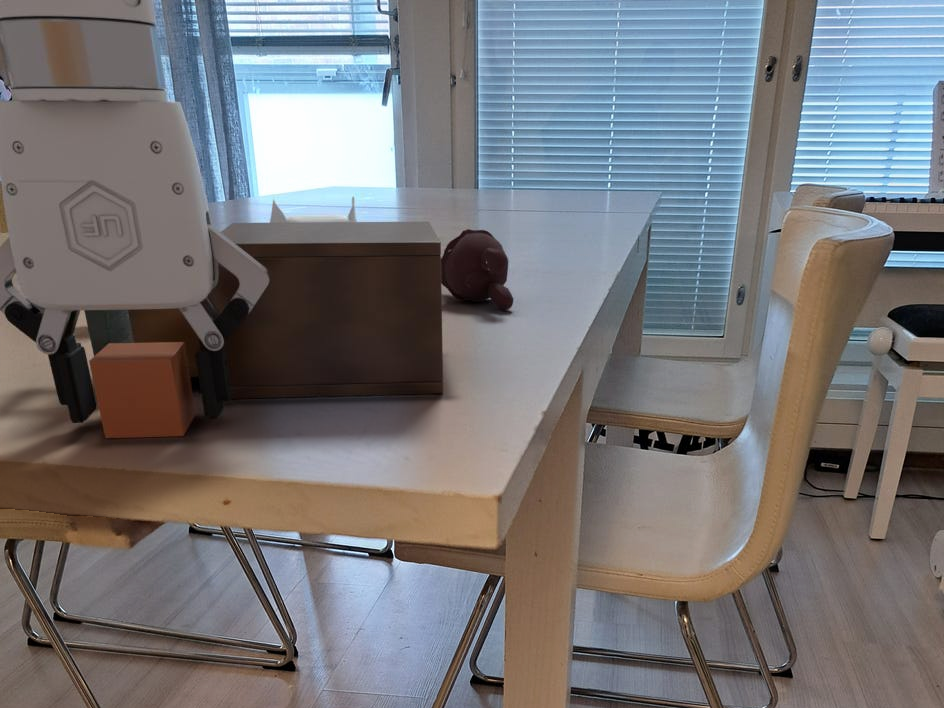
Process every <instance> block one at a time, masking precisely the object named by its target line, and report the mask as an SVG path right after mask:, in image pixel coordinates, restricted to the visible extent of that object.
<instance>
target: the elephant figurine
mask: <svg viewBox="0 0 944 708" xmlns="http://www.w3.org/2000/svg"><path fill="white" fill-rule="evenodd" d="M355 201H356V199H355V197H354V196H352V197H351V208H350V211H349V212H348V215H345V214H335V213H333V214H331V213H330V214H294V215H289V216H287V217H286V215H285V214H284V212H283V211H282V210H281V208H280V207H279V206H278V205H277V203H276V201H275V198H274V197H273V198H272V206H271V213H270V218H269V223H290V222H358V220H357V216H356V208H355V203H356V202H355Z"/></svg>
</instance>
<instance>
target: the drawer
mask: <svg viewBox="0 0 944 708" xmlns="http://www.w3.org/2000/svg"><path fill="white" fill-rule="evenodd" d="M208 296H209V298H210V299H211V301H212V302H213V296H212V290H211V292H210V293H209V294H208ZM36 306H37V305H36ZM38 307H39V308H40V309H41V310H43V311H45V308H43V307H40V306H38ZM83 311H84V316H85V320H86V326H87V330H88V335H89V340H90V344H91V348H92V354H93V357H94V356H95V355H96V354H98V353H99V352H100V351H101V350H102V349H103V348H104V347H105V346H107V345H108V344H109V343H159V342H184V343H185V349H186V356H187V362H188V368H189V374H190V378H199V376H198V370H197V363H196V352H197V351H198V350H199V348H200V345H199V337H198V336H197V334H196V333H195V331H194V330H193V328H192V327H191V325H190V324H189V323H188V321H187V320H186V318H185V317H184V315H183V314H182V312H181V311H180V309H179V308H173V309H133V310H83Z"/></svg>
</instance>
